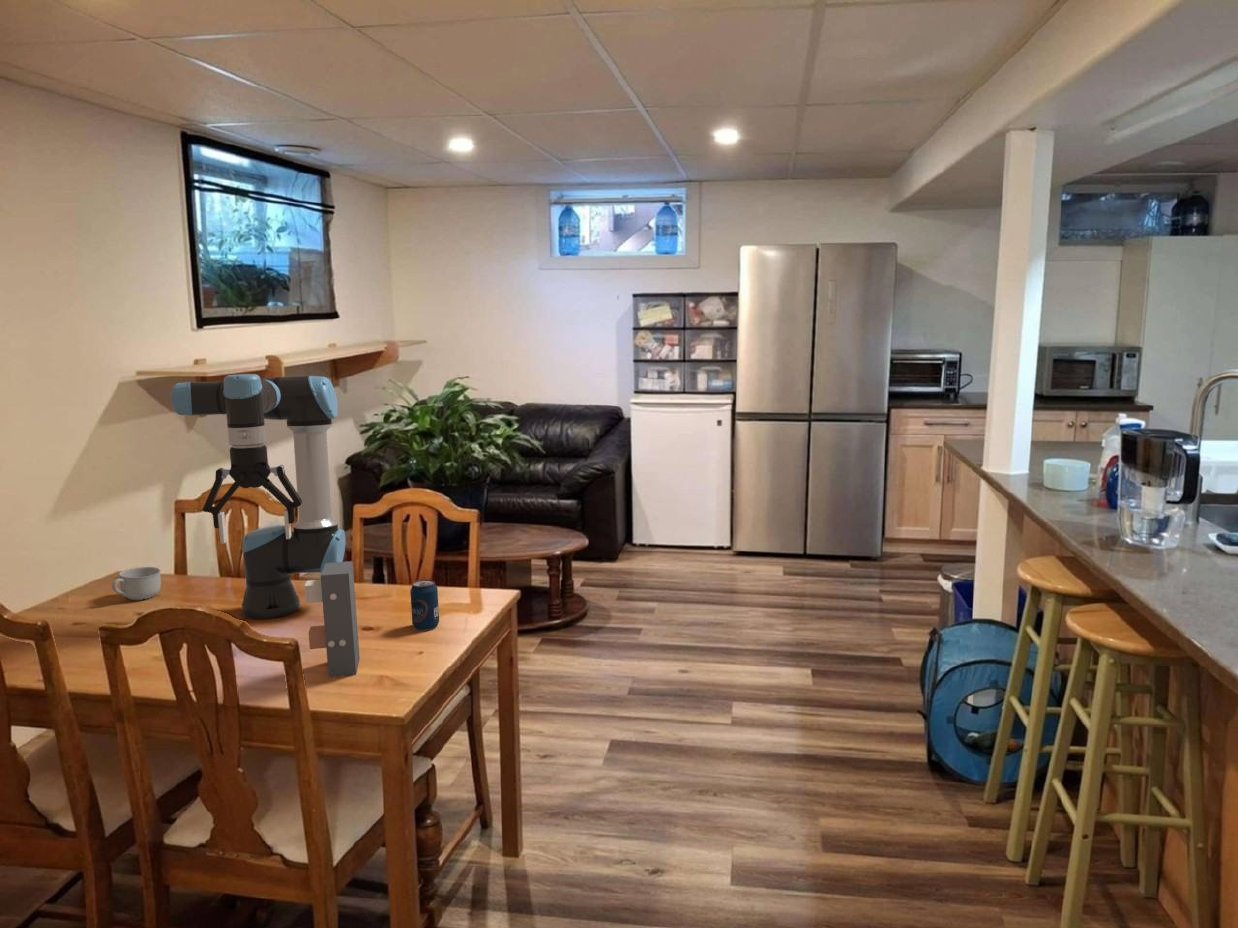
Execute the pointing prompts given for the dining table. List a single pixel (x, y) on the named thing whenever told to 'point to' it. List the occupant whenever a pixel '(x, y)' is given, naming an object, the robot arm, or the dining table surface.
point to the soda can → (424, 605)
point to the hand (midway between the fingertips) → (256, 540)
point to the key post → (340, 618)
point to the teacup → (138, 583)
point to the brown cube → (317, 637)
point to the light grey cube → (313, 591)
